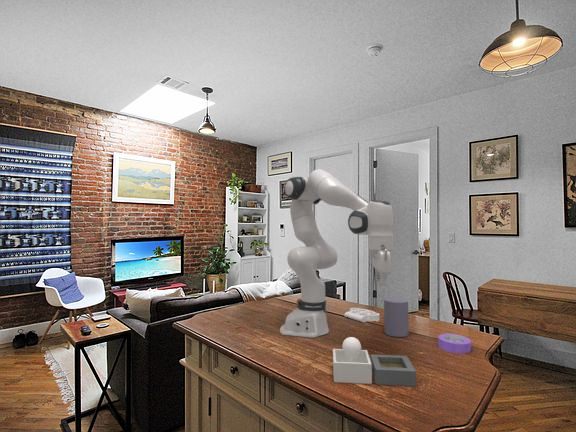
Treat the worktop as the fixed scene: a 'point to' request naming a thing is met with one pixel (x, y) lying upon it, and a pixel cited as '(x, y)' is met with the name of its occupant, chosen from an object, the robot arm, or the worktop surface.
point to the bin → (352, 368)
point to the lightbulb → (351, 349)
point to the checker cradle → (393, 370)
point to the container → (396, 317)
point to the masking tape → (454, 343)
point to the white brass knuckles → (362, 315)
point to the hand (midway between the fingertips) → (380, 282)
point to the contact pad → (391, 365)
